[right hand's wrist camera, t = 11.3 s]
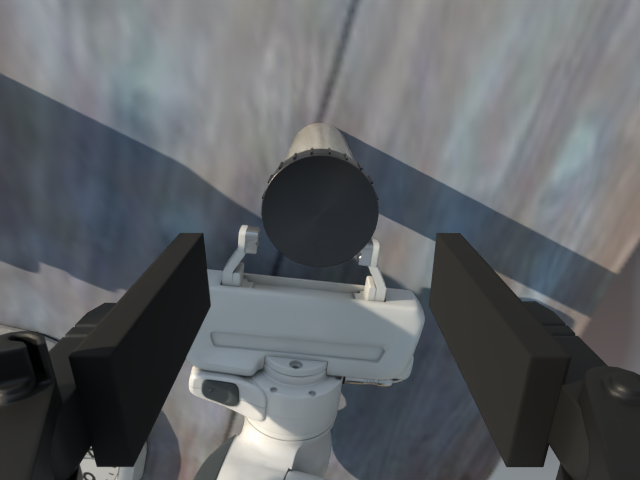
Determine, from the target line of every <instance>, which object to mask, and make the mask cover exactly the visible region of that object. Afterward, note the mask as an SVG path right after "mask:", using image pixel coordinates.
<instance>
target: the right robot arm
mask: <svg viewBox="0 0 640 480" xmlns="http://www.w3.org/2000/svg"><path fill="white" fill-rule="evenodd" d="M210 307H211V301H210V292H209V283H208V273H207V264H206V254H205V245H204V236H203V233H180V234H179V235H178V236H177V237H176V238H175V239H174V240H173V242H172V243H171V244H170V245H169V246H168V247H167V248H166V249H165V250H164V252H163V253H162V254H161V255H160V256H159V257H158V258H157V259H156V260H155V261H154V263H153V264H152V265H151V266H150V267H149V268H148V269H147V270H146V271H145V272H144V274H143V275H142V276H141V277H140V278H139V279H138V280H137V281H136V282H135V283H134V285H133V286H132V287H131V288H130V289H129V290H128V291H127V292H126V293H125V294H124V296H123V297H122V298H121V299H120V300H119V301H118V302H117V303H104V304H102V305H100V306H99V307H97V308H95V309H93V310H92V311H90V312H88V313H87V314H86V315H85V316H84V317H83V318H82V319H81V320H80V321H79V322H78V323H77V324H76V325H75V327H73V328H72V329H71V330H70V331H69V332H68V333H67V334H66V335H65V338H62V339H61V340H60V341H59V342H58V343H57V344H56V345H55V346H54V347H53V348H52V349H51V350H50V351H48V347H47V344H46V340H45V336H43V335H41V334H40V333H38V332H33V331H18V332H10V333H6V334H2V335H0V480H83V474H82V470H81V466H80V463H81V462H82V460H83V458H84V457H85V455H86V454H87V452H88V450H89V449H90V447H92V451H93V455H94V459H95V462H96V466H97V467H134V465H135V463H136V461H137V459H138V457H139V455H140V452H141V450H142V448H143V446H144V444H145V442H146V440H147V438H148V436H149V434H150V432H151V430H152V428H153V425H154V423H155V421H156V419H157V417H158V415H159V413H160V411H161V409H162V407H163V405H164V403H165V400H166V398H167V396H168V394H169V392H170V390H171V388H172V386H173V384H174V382H175V380H176V378H177V376H178V373H179V371H180V369H181V367H182V365H183V363H184V361H185V359H186V357H187V355H188V353H189V351H190V348H191V346H192V344H193V342H194V340H195V338H196V336H197V334H198V332H199V330H200V328H201V326H202V324H203V321H204V319H205V317H206V315H207V313H208V311H209V309H210ZM429 307H430V309H431V311H432V313H433V315H434V317H435V319H436V321H437V324H438V326H439V328H440V330H441V332H442V334H443V336H444V338H445V340H446V342H447V344H448V346H449V348H450V351H451V353H452V355H453V357H454V359H455V361H456V363H457V365H458V367H459V369H460V371H461V373H462V376H463V378H464V380H465V382H466V384H467V386H468V388H469V390H470V392H471V394H472V396H473V398H474V400H475V403H476V405H477V407H478V409H479V411H480V413H481V415H482V417H483V419H484V421H485V423H486V425H487V428H488V430H489V432H490V434H491V436H492V438H493V440H494V442H495V444H496V446H497V448H498V450H499V452H500V455H501V457H502V459H503V461H504V463H505V465H506V467H543V466H544V462H545V458H546V455H547V451H548V447H549V445H550V447H551V448H552V450H553V451H554V453H555V455H556V456H557V458H558V459H559V461H560V466H559V470H558V474H557V477H556V480H640V375H639V374H636V373H634V372H631V371H628V370H624V369H621V368H618V367H609V366H607V365H606V364H605V363H604V362H603V361H602V360H601V359H600V358H599V357H598V356H597V355H596V354H595V353H594V352H593V351H592V350H591V349H590V348H589V347H588V346H587V345H586V344H585V343H584V342H583V341H582V340H581V339H580V338H579V337H578V336H575V333H574V332H573V331H572V330H571V329H570V328H569V327H568V326H565V323H564V322H563V321H562V320H561V319H560V318H559V317H558V316H557V315H556V314H555V313H554V312H553V311H551V310H550V309H548V308H546V307H544V306H542V305H541V304H539V303H537V302H522V301H521V300H520V299H519V298H518V297H517V296H516V294H515V293H514V292H513V291H512V290H511V289H510V288H509V287H508V286H507V285H506V283H505V282H504V281H503V280H502V279H501V278H500V277H499V276H498V275H497V274H496V272H495V271H494V270H493V269H492V268H491V267H490V266H489V265H488V264H487V263H486V261H485V260H484V259H483V258H482V257H481V256H480V255H479V254H478V253H477V252H476V250H475V249H474V248H473V247H472V246H471V245H470V244H469V243H468V242H467V240H466V239H465V238H464V237H463V236H462V235H461V234H460V233H437V236H436V245H435V254H434V264H433V273H432V283H431V292H430V301H429Z"/></svg>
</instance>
